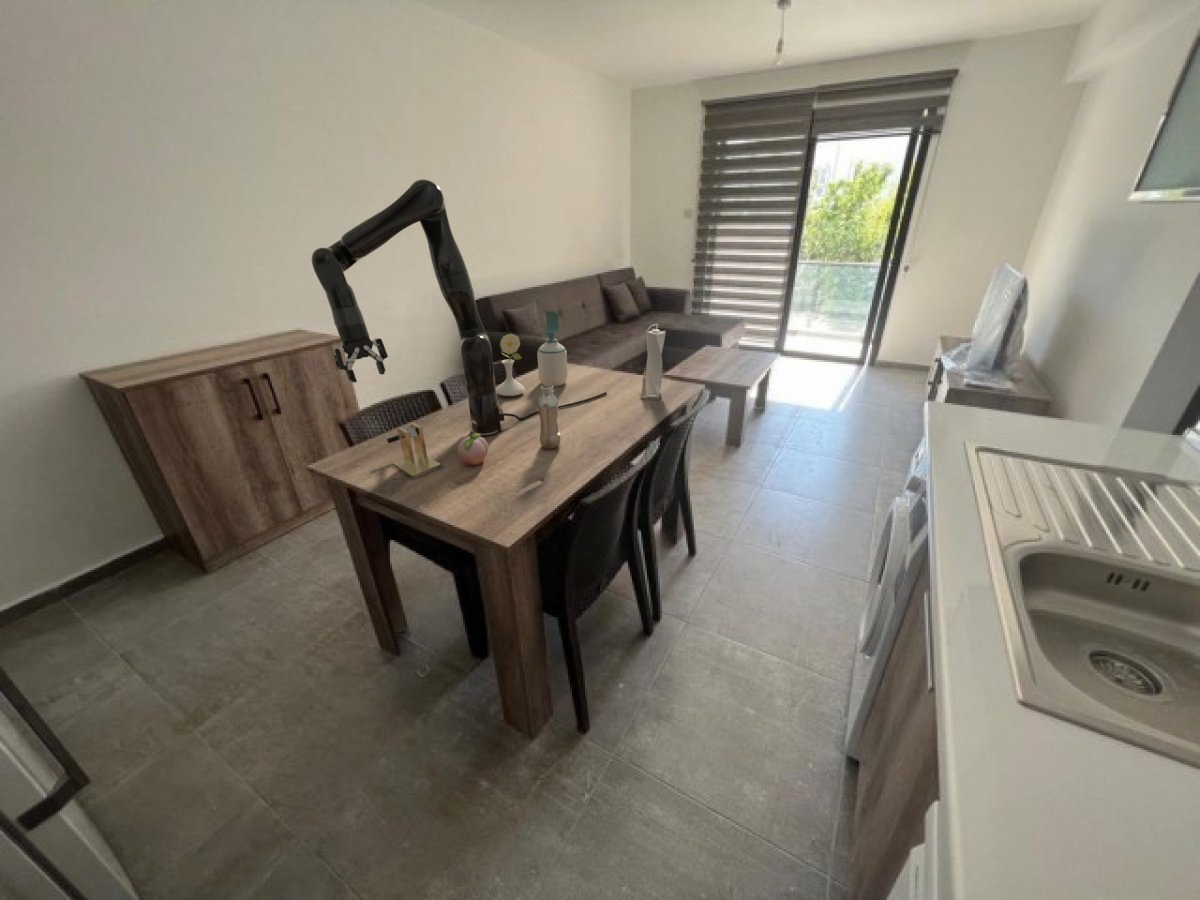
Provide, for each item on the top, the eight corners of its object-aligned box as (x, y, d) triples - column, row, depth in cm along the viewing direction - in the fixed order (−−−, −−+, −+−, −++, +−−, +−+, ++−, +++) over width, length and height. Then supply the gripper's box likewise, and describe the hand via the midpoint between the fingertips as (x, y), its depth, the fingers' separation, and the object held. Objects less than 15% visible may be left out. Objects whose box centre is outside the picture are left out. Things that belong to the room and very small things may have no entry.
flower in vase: (490, 395, 194) (484, 333, 183) (510, 387, 202) (505, 328, 191) (514, 401, 187) (508, 338, 176) (533, 393, 196) (529, 332, 184)
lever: (388, 445, 141) (385, 437, 140) (407, 438, 145) (404, 431, 144) (404, 440, 132) (400, 431, 132) (424, 433, 136) (420, 425, 136)
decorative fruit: (465, 457, 145) (460, 427, 141) (492, 457, 145) (488, 427, 140) (456, 472, 137) (451, 441, 132) (484, 473, 136) (480, 441, 132)
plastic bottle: (564, 443, 153) (561, 384, 144) (555, 452, 148) (552, 391, 139) (545, 440, 155) (542, 381, 146) (536, 449, 150) (532, 389, 141)
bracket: (393, 466, 140) (384, 427, 134) (421, 456, 146) (414, 417, 140) (412, 479, 133) (404, 438, 128) (441, 467, 139) (434, 427, 134)
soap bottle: (535, 387, 202) (530, 312, 188) (543, 378, 213) (539, 306, 199) (564, 388, 200) (561, 313, 186) (570, 379, 211) (568, 307, 197)
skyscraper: (642, 392, 196) (645, 323, 184) (662, 392, 195) (666, 323, 183) (641, 399, 189) (643, 327, 176) (661, 400, 188) (666, 328, 175)
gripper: (329, 328, 129) (350, 386, 136) (379, 317, 139) (396, 372, 145) (319, 328, 134) (339, 384, 140) (368, 318, 143) (385, 370, 150)
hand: (368, 378), depth 143 cm, fingers open, 8 cm apart
